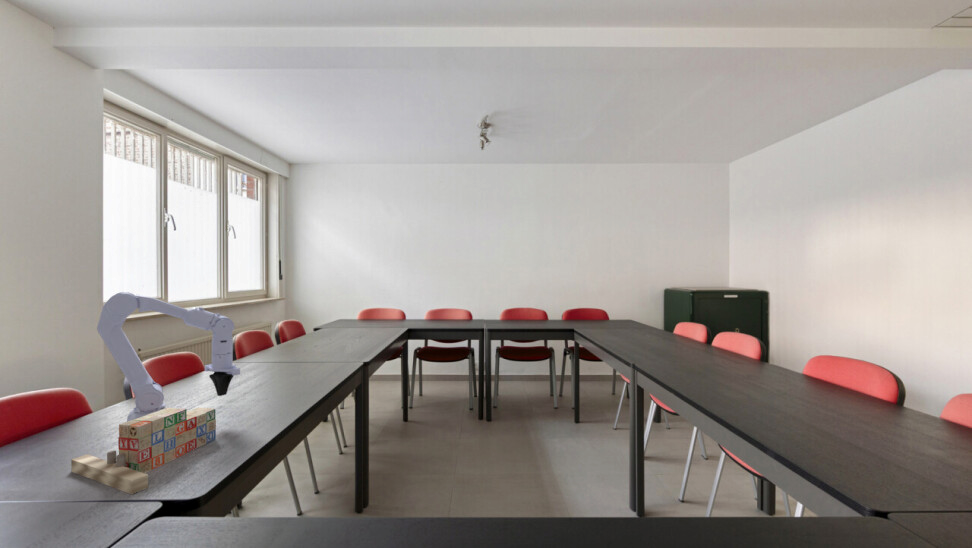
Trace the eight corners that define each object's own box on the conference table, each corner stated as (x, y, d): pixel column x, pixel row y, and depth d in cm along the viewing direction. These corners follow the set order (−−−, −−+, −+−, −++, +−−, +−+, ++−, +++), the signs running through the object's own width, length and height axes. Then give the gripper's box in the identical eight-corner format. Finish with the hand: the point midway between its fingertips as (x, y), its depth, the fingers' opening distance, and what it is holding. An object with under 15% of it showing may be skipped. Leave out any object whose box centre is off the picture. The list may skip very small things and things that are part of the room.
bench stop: (71, 471, 96) (71, 449, 96) (91, 464, 99) (91, 443, 99) (131, 494, 86) (132, 469, 86) (152, 486, 89) (152, 462, 89)
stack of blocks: (198, 438, 116) (198, 396, 116) (216, 440, 115) (216, 398, 115) (117, 474, 95) (118, 423, 95) (138, 476, 94) (138, 425, 94)
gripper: (249, 352, 128) (248, 394, 128) (220, 349, 133) (219, 389, 133) (227, 357, 121) (227, 400, 121) (198, 353, 127) (197, 394, 127)
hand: (222, 394), depth 127 cm, fingers closed
